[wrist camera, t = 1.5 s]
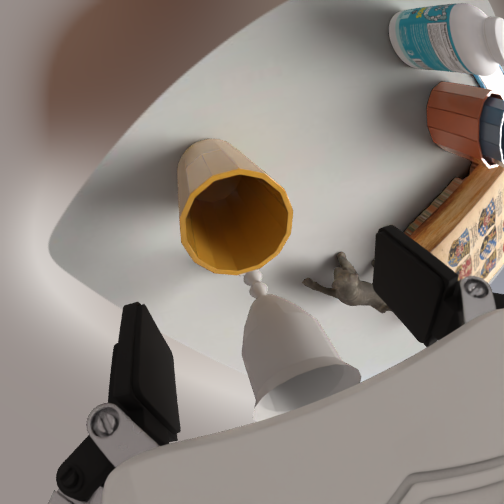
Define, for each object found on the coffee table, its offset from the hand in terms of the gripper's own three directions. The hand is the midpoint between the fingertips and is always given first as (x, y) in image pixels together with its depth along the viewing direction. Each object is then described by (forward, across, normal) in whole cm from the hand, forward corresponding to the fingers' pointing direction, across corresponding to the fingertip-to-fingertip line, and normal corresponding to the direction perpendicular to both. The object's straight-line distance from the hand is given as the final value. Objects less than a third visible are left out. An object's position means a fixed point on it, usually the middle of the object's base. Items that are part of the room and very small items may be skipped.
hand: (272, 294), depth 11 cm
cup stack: (+17, -31, -3) cm, 36 cm away
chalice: (+18, -1, +8) cm, 20 cm away
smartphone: (+18, -42, -11) cm, 47 cm away
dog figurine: (+18, -13, +15) cm, 27 cm away
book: (+18, -38, +17) cm, 45 cm away
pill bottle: (+18, -24, -12) cm, 32 cm away
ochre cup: (+17, 0, -1) cm, 17 cm away
